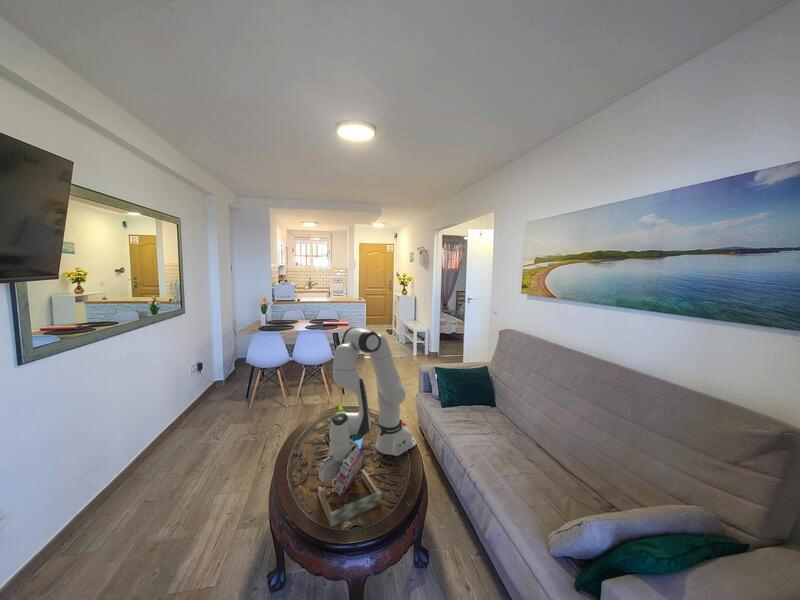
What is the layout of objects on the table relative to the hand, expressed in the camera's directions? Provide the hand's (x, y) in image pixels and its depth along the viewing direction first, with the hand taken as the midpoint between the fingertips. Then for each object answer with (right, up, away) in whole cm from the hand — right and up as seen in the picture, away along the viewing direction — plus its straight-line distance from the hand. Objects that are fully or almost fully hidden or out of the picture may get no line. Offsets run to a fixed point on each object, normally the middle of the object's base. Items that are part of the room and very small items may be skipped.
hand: (339, 478), depth 134 cm
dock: (+5, -4, -8) cm, 10 cm away
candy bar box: (+3, -2, -2) cm, 4 cm away
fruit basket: (-9, +5, +49) cm, 50 cm away
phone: (-9, +2, +30) cm, 31 cm away
